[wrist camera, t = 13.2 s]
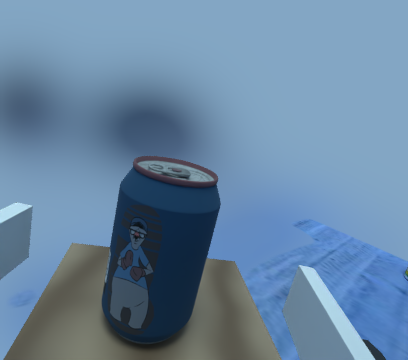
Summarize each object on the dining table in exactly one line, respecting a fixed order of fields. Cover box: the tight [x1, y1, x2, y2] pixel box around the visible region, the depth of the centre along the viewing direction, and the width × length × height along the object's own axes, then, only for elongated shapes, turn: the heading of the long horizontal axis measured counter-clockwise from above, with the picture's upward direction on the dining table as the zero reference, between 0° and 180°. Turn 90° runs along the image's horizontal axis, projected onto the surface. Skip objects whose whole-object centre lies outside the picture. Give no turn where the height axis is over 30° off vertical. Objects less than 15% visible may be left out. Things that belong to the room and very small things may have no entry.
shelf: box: [4, 243, 282, 360], centre depth 22 cm, size 18×18×9 cm
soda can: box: [102, 156, 220, 344], centre depth 20 cm, size 7×7×12 cm
